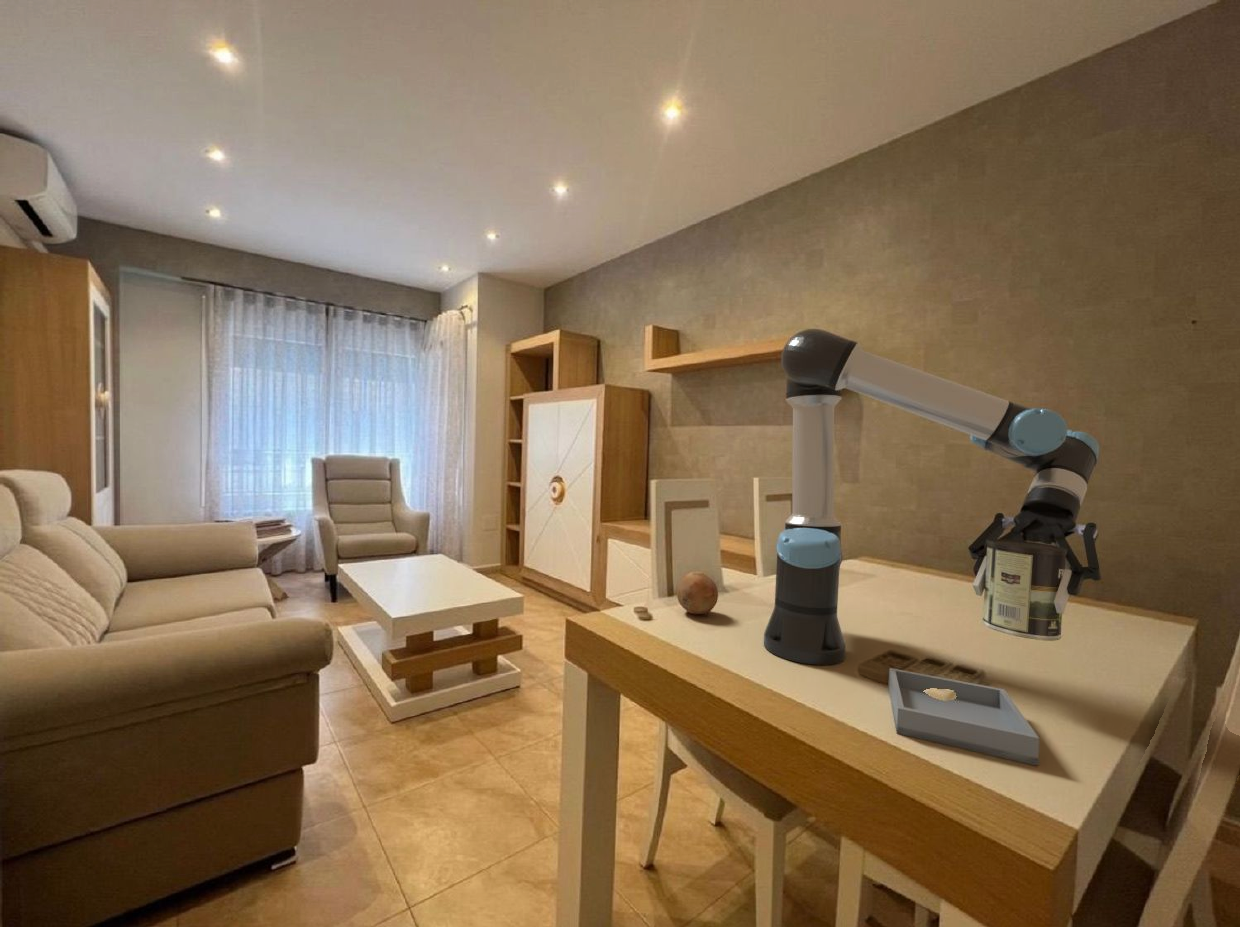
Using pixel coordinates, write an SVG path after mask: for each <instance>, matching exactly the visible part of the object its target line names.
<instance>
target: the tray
mask: <svg viewBox="0 0 1240 927" xmlns="http://www.w3.org/2000/svg"><path fill="white" fill-rule="evenodd" d="M930 688H937V689H950V690H954V692H955V693H956V696H957V697H956V699H954V700H948V701H943V700H939V699H936V698H933V697H931V696H929V695H928V694H926V693H925V692H923V691H924V690H926V689H930ZM887 689H888V694H889V699H890V705H891V711H892V715H893V716H892V717H893V721H894V726H895V731H896V734H898V735H902V736H906V737H910V738H916V739H920V740H923V741H928V742H932V743H936V744H941V745H946V746H950V747H953V748H959V749H962V750H966V751H971V752H974V753H979V754H985V755H987V756H992V757H998V758H1000V759H1005V760H1009V761H1013V762H1014V761H1015V762H1019V763H1022V764H1026V765H1030V766H1031V765H1032V766H1036V767H1038V766H1039V757H1040V756H1039V755H1040V738H1039V736H1038V734H1037V733H1036V732H1035V730H1034V729H1033V727H1032V726H1031V725H1030V723H1029V721H1028V720H1027V719H1026V717H1025V716H1024V714H1023V713H1022V712H1021V710H1020V709H1019V707H1018V706H1017V705H1016V704H1015V702H1014V701H1013V699H1012V698H1011V697H1010V696H1009V694H1008V692H1007V691H1006V689H1005V688H1000V687H994V686H989V685H983V684H979V683H973V682H968V681H967V682H966V681H962V680H956V679H951V678H947V677H946V678H945V677H940V676H935V675H930V674H929V675H928V674H924V673H918V672H913V671H908V670H903V669H897V668H892V667H889V670H888V688H887Z"/></svg>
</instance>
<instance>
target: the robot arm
mask: <svg viewBox="0 0 1240 927" xmlns="http://www.w3.org/2000/svg"><path fill="white" fill-rule="evenodd" d="M780 361H781V362H780V363H781V368H782V370H783V372H784V374H785V401H786V403H787V404H788V405H790V407H791V408H792V496H791V497H792V498H791V499H792V505H791V506H792V508H791V509H792V511H791V512H792V513H791V515H790V516H789V517H788V518H787V519H785V520H784V521H785V523H784V530H783V531H781V532H780V534H779V535H778V538H777V542H776V543H777V544H776V569H775V571H776V572H775V586H774V587H775V588H774V589H775V590H774V607H773V610H772V613H771V614H770V618H769V620H768V623H767V625H766V628H765V630H764V632H763V646H764V648H765V649H766V650H767V651H768V652H770V653H771V654H772V655H773V654H774V655H776V656H777V657H780V658H782V659H786V660H788V661H792V662H797V663H801V664H808V665H817V666H818V665H821V666H822V665H823V666H826V665H827V666H828V665H835V664H840V663H842V662H844V660H845V658H846V642H845V640H844V636H843V633H842V629H841V625H840V623H839V622H840V621H839V618H838V605H839V604H838V602H839V586H840V585H839V583H840V582H839V581H840V571H841V570H840V569H841V564H842V561H843V551H842V523H841V522H840V521H839V520H838V519H837V518H836V517H835V515H834V509H835V508H834V507H835V506H834V504H835V503H834V502H835V501H834V500H835V499H834V498H835V497H834V496H835V495H834V494H835V493H834V490H835V487H834V484H835V481H834V480H835V473H834V472H835V470H834V469H835V406H836V405H837V404H838V403H839V402H840V401H841V400H842V398H843V397H842V394H843V389H847V390H849V391H852V392H855V393H857V394H860V395H863V396H865V397H868V398H869V399H870V398H871V399H873V400H877V401H878V402H881V403H884V404H887V405H889V406H892V407H895V408H897V409H901V410H903V411H905V412H909V413H911V414H913V415H916V416H919V417H922V418H925V419H926V420H930V421H933V422H935V423H938V424H941V425H943V426H946V427H948V428H951V429H953V430H956V431H959V432H962V433H964V434H967V435H970V437H969V438H970V441H971V443H973V444H974V445H976V446H978V447H981V448H982V449H983V450H984V451H988V452H991V453H993V454H995V455H998V456H1000V457H1002V458H1004V459H1007V460H1009V461H1011V462H1013V463H1015V464H1018V465H1021V466H1023V467H1024V468H1026V469H1028V470H1030V471H1033V472H1034V476H1033V479H1032V482H1031V484H1030V486H1029V488H1028V491H1027V493H1026V496H1025V499H1024V500H1023V502H1022V506H1021V507H1020V511H1019V512H1018V513H1017V514H1016V515H1014V516H1005V515H1004V513H1002V512H996V513H995V515H994V519H993V520H992V522H991V524H989V526H987V527H986V528H985V530H984V531H982V533H981V534H980V535H979V536H978V537H977V538H976V539H975V540H974V541H973V542H972V543H971V544H970V545H969V546H968V551H969V554H970V557H971V559H973V560H976V561H975V563H974V565H973V567H972V568H973V572H974V575H975V578H974V580H973V583H972V588H973V590H974V592H975V593H974V594H975V595H976V596H979V597H982V596H983V594H984V592H985V575H986V558H987V544H986V541H987V540H988V539H1003V540H1016V541H1026V542H1034V543H1041V544H1048V545H1052V544H1054V546H1059V547H1063V548H1066V549H1067V554H1066V560H1065V565H1066V566H1067V568H1068V569H1067V568H1065V571H1064V574H1063V577H1062V580H1061V582H1060V585H1059V588H1058V591H1057V594H1056V597H1055V600H1054V604H1055V608H1056V611H1057V613H1060V614H1062V615H1064V613H1065V610H1066V607H1067V604H1068V600H1069V597H1070V595H1071V596H1075V597H1076V596H1078V595H1079V594H1080V592H1081V588H1082V585H1083V582H1084V581H1085V580H1093V581H1095V582H1096V581H1097V582H1098V581H1100V580H1102V572H1101V569H1100V562H1099V559H1098V553H1097V548H1096V541H1097V539H1098V537H1099V531H1098V527H1097V524H1096V523H1095V522H1087V523H1086V524H1085V525H1084V524H1078V523H1076V522H1077V518H1078V516H1079V514H1080V510H1081V506H1082V504H1083V501H1084V498H1085V496H1086V493H1087V489H1088V486H1089V483H1090V480H1091V478H1092V475H1093V472H1094V470H1095V468H1096V467H1097V464H1098V459H1099V454H1100V445H1099V443H1098V440H1097V439H1096V438H1095V437H1093V436H1092V435H1090V434H1089V433H1086V432H1083V431H1080V430H1079V431H1075V430H1071V429H1068V425H1067V423H1066V421H1065V419H1064V418H1063V417H1062V416H1061V415H1060V413H1057V412H1055V411H1053V410H1051V409H1048V408H1038V407H1035V408H1029V407H1027V406H1025V405H1022V404H1019V403H1015V402H1012V401H1009V400H1007V399H1004V398H1001V397H998V396H995V395H992V394H989V393H987V392H984V391H981V390H978V389H974V388H972V387H969V386H968V385H967V386H966V385H964V384H960V383H957V382H955V381H953V380H950V379H946V378H944V377H940V376H939V375H936V374H935V375H934V374H931V373H930V372H926V371H923V370H921V369H917V368H914V367H911V366H909V365H905V364H904V363H903V364H902V363H899V362H897V361H894V360H892V359H889V358H885V357H883V356H881V355H876V354H874V353H871V352H868V351H866V350H864V349H863V348H862V345H861V343H860V342H857V341H854V340H851V339H848V338H845V337H843V336H840V335H838V334H836V333H833V332H830V331H827V330H824V329H820V328H819V329H818V328H808V329H803V330H801V331H798V332H797V333H795V334H794V335H792V336H791V337H790V338H789V339H788V341H787V342H786V343H785V345H784V347H783V348H782V352H781V359H780ZM1013 525H1014V526H1013ZM1011 526H1013V527H1011ZM1010 527H1011V529H1010V531H1009V532H1007V533H1005V534H1004V535H1003V533H1004V532H1005V530H1009V528H1010ZM1075 533H1077V534H1078V536H1079V538H1081V539H1082V540H1083V543H1084V548H1085V549H1084V550H1085V554H1086V555H1085V556H1086V561H1087V565H1088V566H1083V564H1081V563H1080V561H1079V559H1078V558H1077V556H1076V554H1075V552H1074V551H1073V549H1072V546H1070V544H1069V542H1068V541H1067V539H1066V538H1068V537H1069V536H1072V535H1074V534H1075ZM1002 535H1003V536H1002ZM1000 536H1001V537H1000Z"/></svg>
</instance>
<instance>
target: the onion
mask: <svg viewBox="0 0 1240 927" xmlns="http://www.w3.org/2000/svg"><path fill="white" fill-rule="evenodd" d="M676 597H677V600H678V601H677V602H678V603H679V604H680V606H681V607H682V608H683V609H684V610H685V611H686V612H688V613H690V614H692V615H704V614H708V613H710V612H711V611H712V610H713V609H714V608H715V606H716V604H717V603H718V599H719V590H718V587H717V585H716V583H715V582H714V580H713V579H712V578H711V577H710V576H709V575H707V574H706V573H704V572H701V571H691V572H688V573H686V574H685V575H684V576H683V577H682V579H681V580H680V582H679V584H678V586H677V591H676Z"/></svg>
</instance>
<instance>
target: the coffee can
mask: <svg viewBox="0 0 1240 927" xmlns="http://www.w3.org/2000/svg"><path fill="white" fill-rule="evenodd" d="M986 544H987V558H986V575H985V589H984V591H983V594H984V595H983V609H982V610H983V612H982V620H981V623H982V624H983V626H985V627H987V628H989V629H991V630H993V631H997V632H1000V633H1003V634H1007V635H1011V636H1015V637H1019V638H1024V639H1029V640H1030V639H1031V640H1036V641H1046V642H1047V641H1051V642H1052V641H1053V642H1054V641H1060V640H1061V639H1062V621H1063V618H1062V617H1063V614H1060V613H1057V611H1056V608H1055V604H1054V600H1055V597H1056V594H1057V591H1058V588H1059V585H1060V582H1061V580H1062V577H1063V574H1064V571H1065V569H1066V562H1065V560H1066V554H1067V549H1066V548H1063V547H1059V546H1056V545H1055V544H1053V545H1052V544H1045V543H1042V542H1030V541H1027V542H1026V541H1016V540H1003V539H999V538H998V539H988V540H987V541H986Z"/></svg>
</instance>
